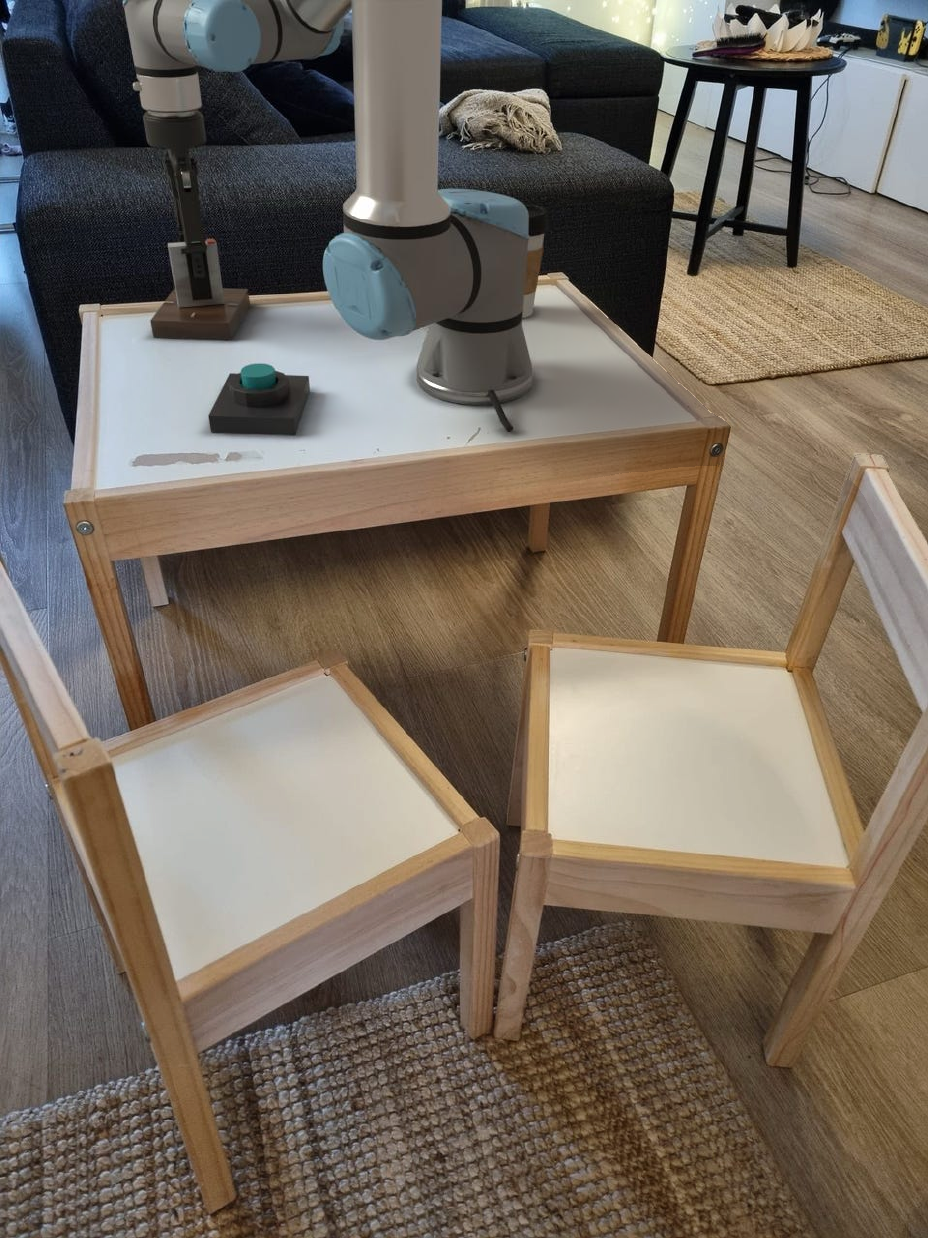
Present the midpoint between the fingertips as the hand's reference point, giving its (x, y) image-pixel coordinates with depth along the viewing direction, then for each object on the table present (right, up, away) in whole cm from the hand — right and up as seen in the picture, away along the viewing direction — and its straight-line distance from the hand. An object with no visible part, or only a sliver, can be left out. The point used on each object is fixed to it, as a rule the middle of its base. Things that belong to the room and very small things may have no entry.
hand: (198, 288), depth 133 cm
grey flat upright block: (0, -2, +1) cm, 2 cm away
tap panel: (0, -4, +3) cm, 5 cm away
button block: (+14, -22, -20) cm, 33 cm away
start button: (+14, -19, -22) cm, 32 cm away
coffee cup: (+46, 0, +10) cm, 47 cm away
